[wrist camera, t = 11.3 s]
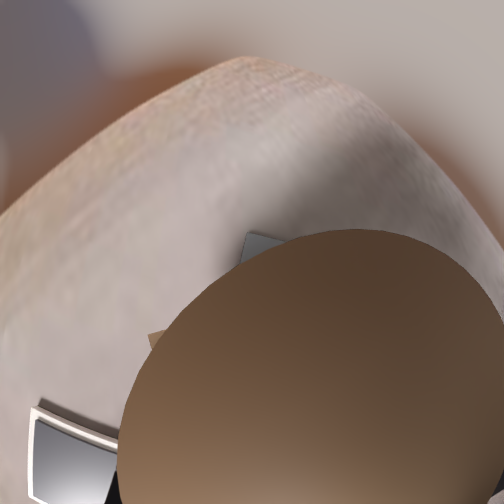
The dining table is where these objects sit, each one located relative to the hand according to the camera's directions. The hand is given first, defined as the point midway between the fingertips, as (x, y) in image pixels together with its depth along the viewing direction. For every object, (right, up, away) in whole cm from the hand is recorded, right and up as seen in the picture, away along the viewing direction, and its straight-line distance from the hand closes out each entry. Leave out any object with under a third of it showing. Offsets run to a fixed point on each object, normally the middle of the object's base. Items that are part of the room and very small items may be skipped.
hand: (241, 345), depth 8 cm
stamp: (0, -3, +6) cm, 7 cm away
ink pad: (-13, -14, +8) cm, 21 cm away
